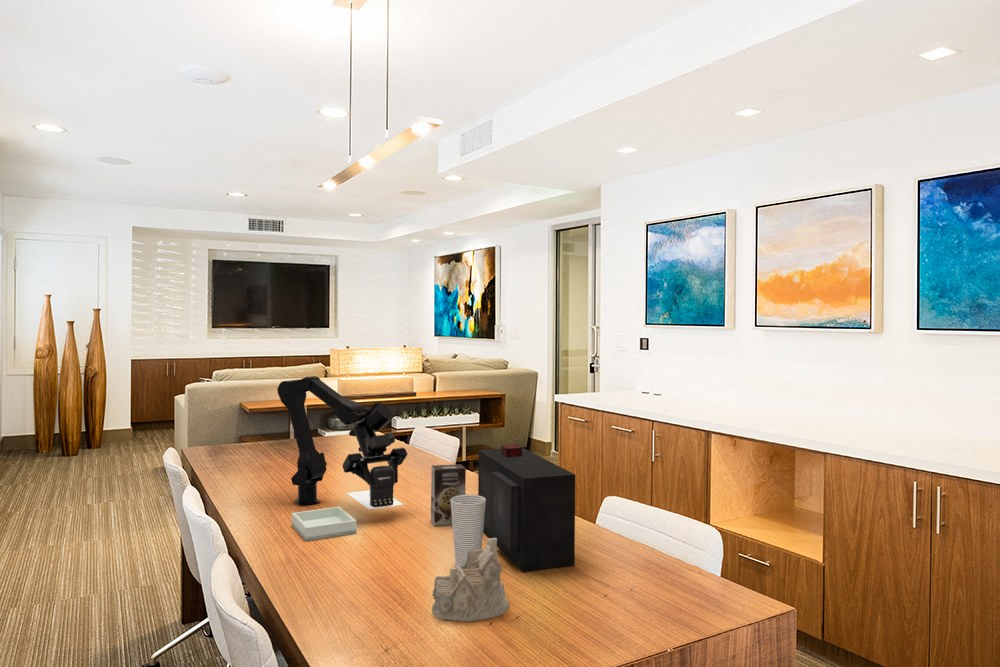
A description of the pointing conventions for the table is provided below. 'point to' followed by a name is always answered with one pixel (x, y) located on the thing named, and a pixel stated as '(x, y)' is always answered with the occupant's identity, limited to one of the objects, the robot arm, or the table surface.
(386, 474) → the battery charger
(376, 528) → the table surface
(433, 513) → the coffee box
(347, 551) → the table surface
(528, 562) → the speaker
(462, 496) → the cup
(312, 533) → the tray
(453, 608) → the ceramic cottage
